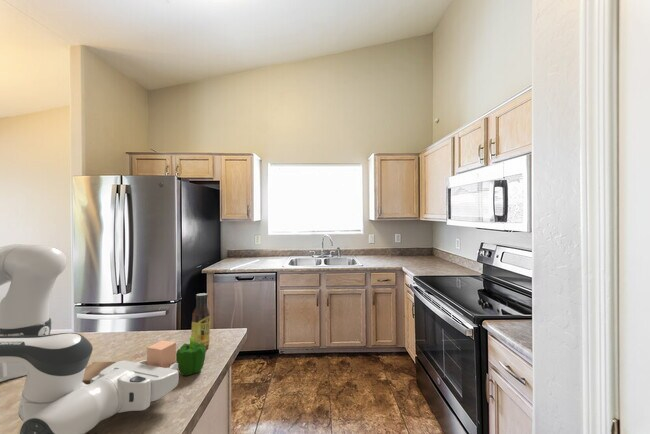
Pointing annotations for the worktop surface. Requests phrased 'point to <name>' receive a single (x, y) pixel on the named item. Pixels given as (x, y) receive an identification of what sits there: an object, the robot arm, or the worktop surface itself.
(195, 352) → the bell pepper
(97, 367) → the walnut block
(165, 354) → the terracotta block
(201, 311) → the sauce bottle
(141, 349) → the worktop surface
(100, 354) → the worktop surface
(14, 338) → the robot arm
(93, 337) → the worktop surface
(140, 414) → the worktop surface
